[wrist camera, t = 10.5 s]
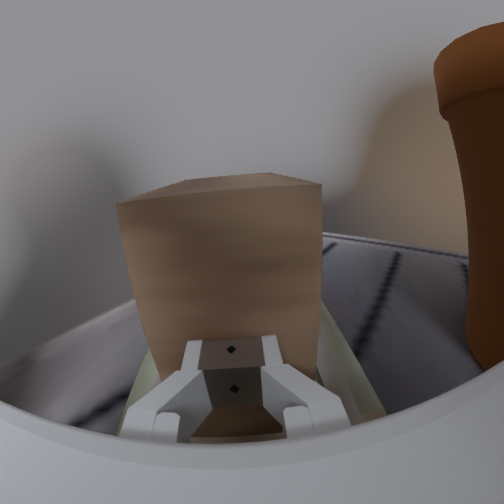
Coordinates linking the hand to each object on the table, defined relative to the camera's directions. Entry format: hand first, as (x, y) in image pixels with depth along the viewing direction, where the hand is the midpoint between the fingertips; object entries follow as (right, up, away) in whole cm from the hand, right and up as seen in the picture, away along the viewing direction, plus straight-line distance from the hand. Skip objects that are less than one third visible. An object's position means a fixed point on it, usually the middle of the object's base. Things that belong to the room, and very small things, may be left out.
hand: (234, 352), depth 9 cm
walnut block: (0, -3, +7) cm, 8 cm away
